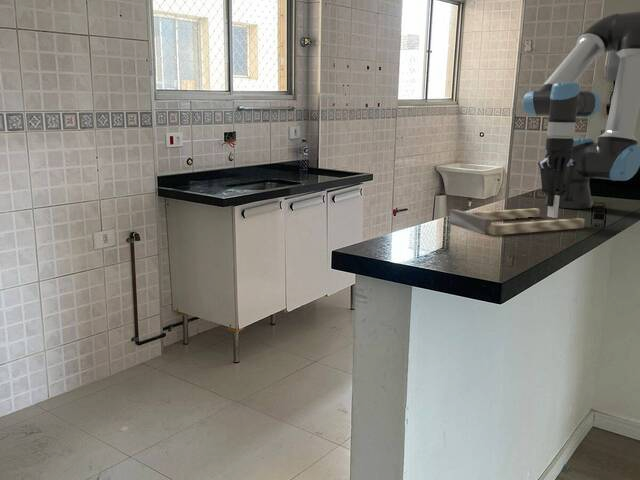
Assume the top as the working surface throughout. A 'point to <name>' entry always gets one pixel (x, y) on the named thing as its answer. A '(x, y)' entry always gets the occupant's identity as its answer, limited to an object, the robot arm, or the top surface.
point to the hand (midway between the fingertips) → (552, 216)
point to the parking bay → (483, 223)
